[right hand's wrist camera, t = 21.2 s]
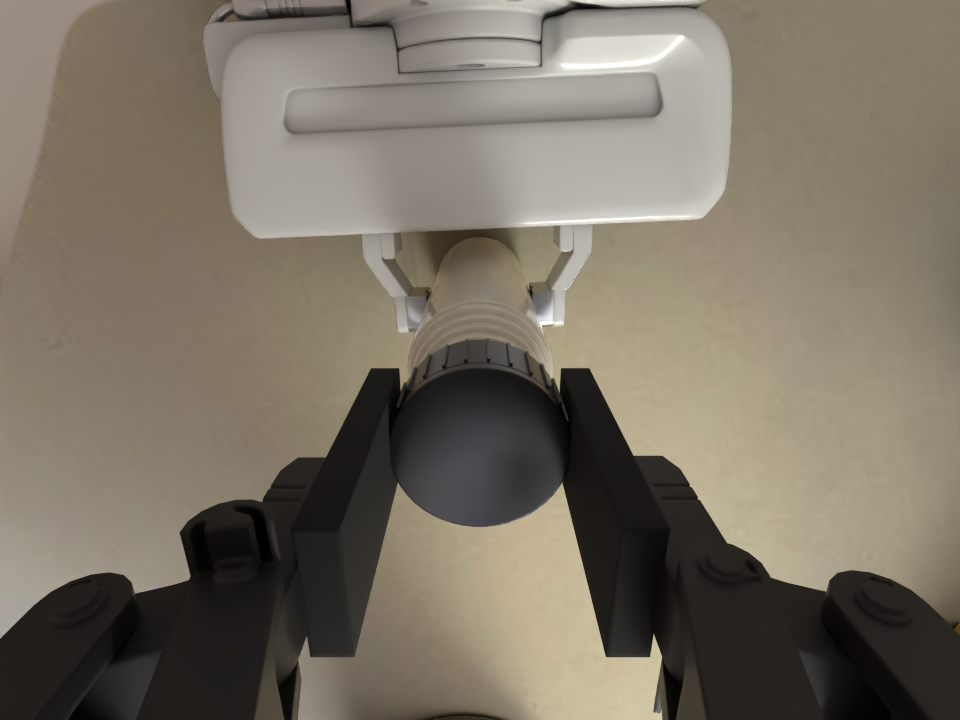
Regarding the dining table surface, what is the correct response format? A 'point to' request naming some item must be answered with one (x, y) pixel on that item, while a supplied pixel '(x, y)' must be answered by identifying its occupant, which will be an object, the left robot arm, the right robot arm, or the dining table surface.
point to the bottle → (480, 303)
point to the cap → (480, 434)
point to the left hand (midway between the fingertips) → (481, 326)
